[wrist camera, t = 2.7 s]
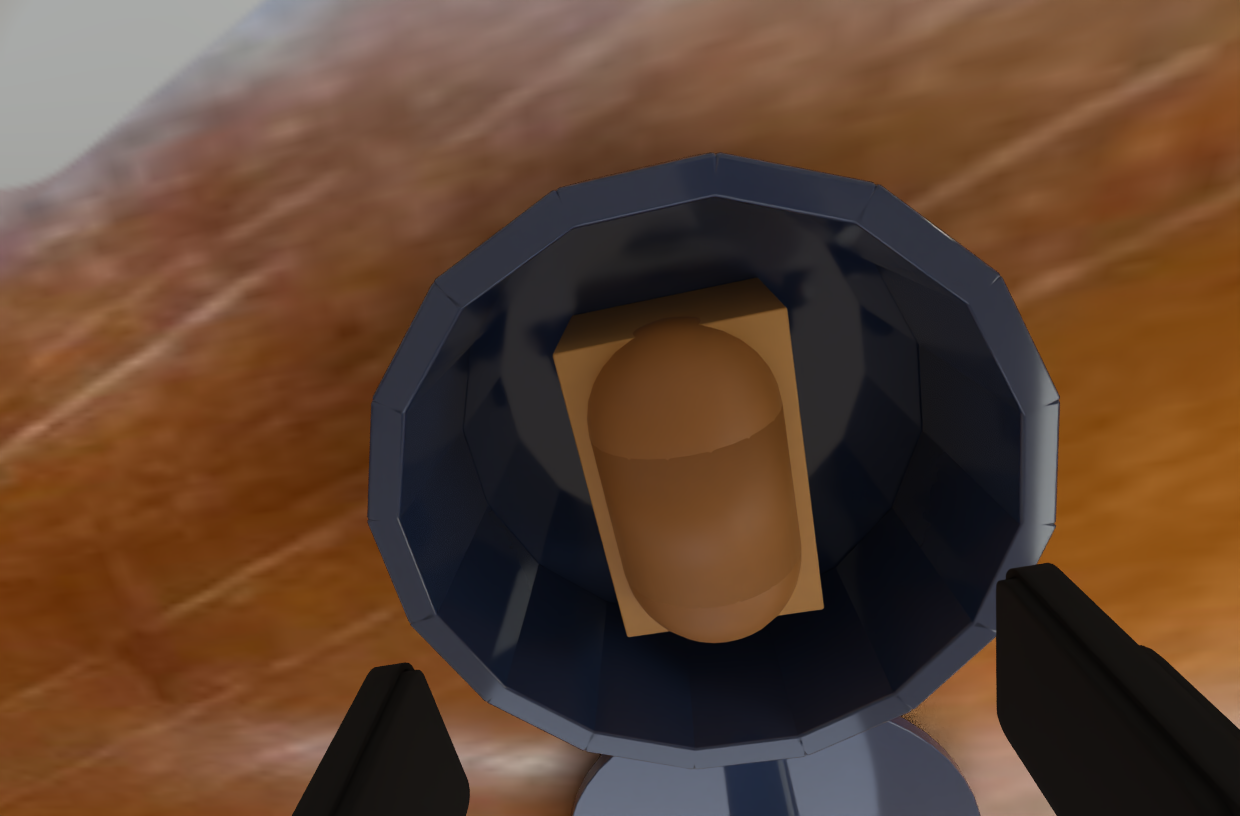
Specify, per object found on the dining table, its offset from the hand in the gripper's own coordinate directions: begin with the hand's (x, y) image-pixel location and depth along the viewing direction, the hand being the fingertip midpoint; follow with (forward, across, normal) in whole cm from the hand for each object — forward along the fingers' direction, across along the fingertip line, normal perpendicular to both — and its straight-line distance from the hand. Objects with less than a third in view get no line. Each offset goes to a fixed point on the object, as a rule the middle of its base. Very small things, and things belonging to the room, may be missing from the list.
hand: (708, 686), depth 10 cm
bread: (+10, 0, 0) cm, 10 cm away
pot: (+11, 0, 0) cm, 11 cm away
